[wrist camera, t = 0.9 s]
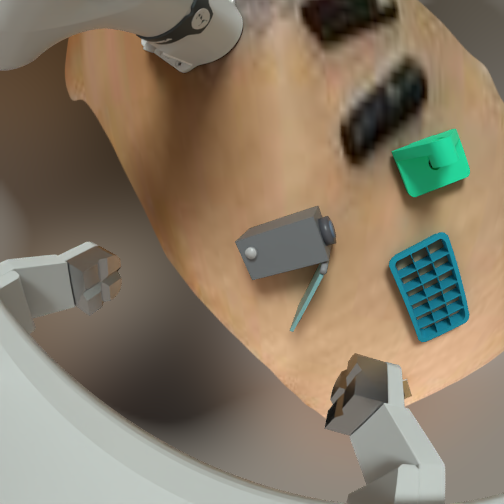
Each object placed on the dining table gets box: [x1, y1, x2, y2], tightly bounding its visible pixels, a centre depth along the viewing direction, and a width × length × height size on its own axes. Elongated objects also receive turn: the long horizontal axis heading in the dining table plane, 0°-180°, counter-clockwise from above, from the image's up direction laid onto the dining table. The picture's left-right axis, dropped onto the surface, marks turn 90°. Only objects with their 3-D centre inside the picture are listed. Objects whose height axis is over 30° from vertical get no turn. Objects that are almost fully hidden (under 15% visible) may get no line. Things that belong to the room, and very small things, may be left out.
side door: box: [290, 256, 330, 332], centre depth 45 cm, size 13×1×8 cm, turn 162°
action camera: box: [235, 206, 336, 280], centre depth 44 cm, size 15×7×8 cm, turn 114°
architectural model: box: [403, 379, 412, 398], centre depth 48 cm, size 3×7×7 cm, turn 33°
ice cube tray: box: [389, 232, 469, 342], centre depth 41 cm, size 12×20×3 cm, turn 35°
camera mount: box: [392, 129, 470, 197], centre depth 30 cm, size 12×8×10 cm, turn 118°
